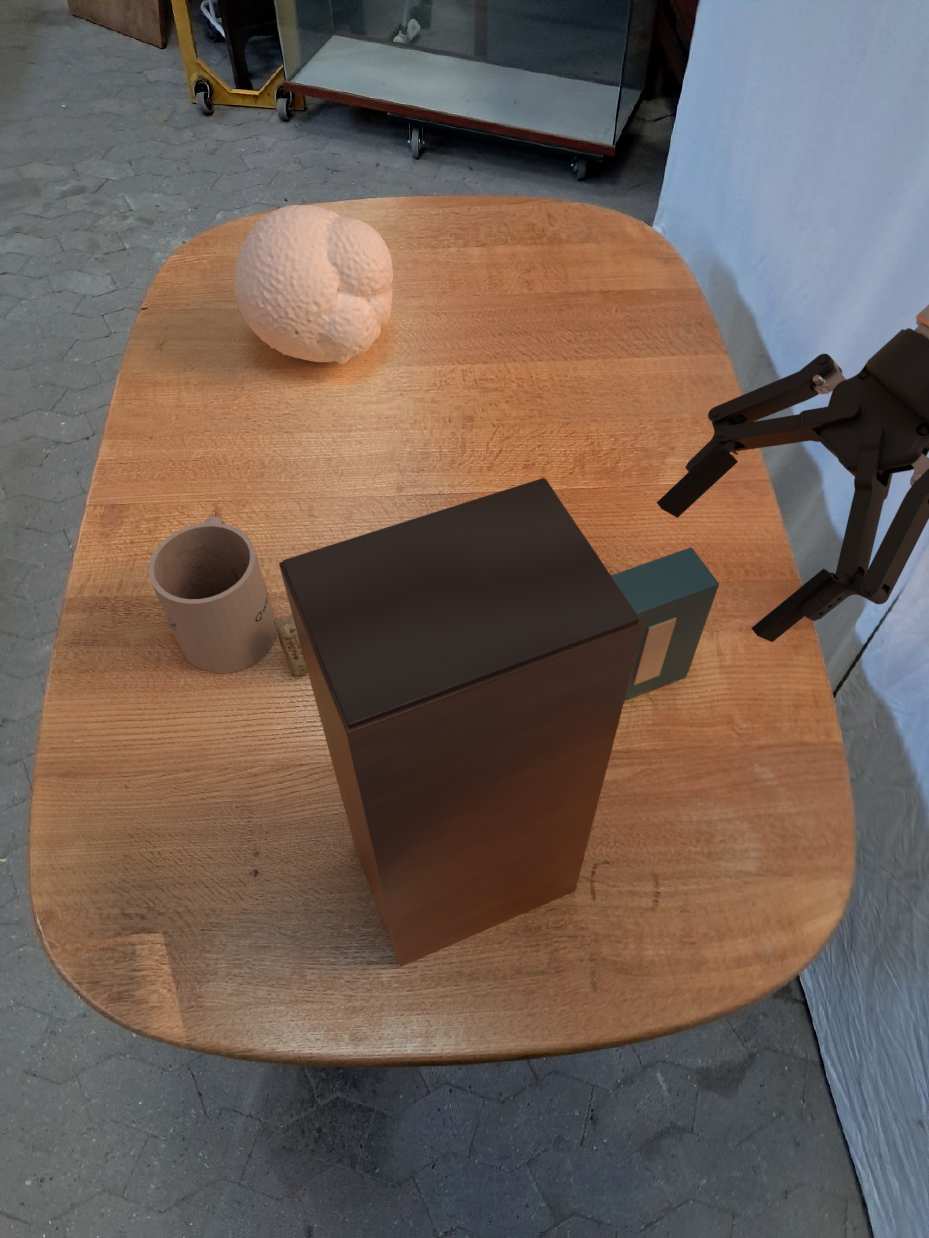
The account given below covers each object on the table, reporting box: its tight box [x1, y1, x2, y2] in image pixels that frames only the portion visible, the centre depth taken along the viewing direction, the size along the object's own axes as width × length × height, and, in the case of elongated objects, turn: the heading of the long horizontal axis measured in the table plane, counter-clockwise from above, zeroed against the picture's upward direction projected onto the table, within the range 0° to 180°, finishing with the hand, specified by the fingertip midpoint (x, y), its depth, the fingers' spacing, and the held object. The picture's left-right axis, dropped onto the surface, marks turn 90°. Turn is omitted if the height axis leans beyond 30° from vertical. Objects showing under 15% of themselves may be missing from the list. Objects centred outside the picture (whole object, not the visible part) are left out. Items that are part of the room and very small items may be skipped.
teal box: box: [610, 546, 720, 702], centre depth 73 cm, size 4×9×13 cm, turn 113°
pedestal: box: [278, 477, 644, 967], centre depth 55 cm, size 10×14×34 cm
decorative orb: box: [232, 204, 394, 365], centre depth 100 cm, size 20×18×16 cm
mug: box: [147, 515, 277, 674], centre depth 79 cm, size 12×9×10 cm
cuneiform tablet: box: [274, 613, 308, 677], centre depth 78 cm, size 7×4×12 cm
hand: (711, 570), depth 70 cm, fingers open, 13 cm apart
